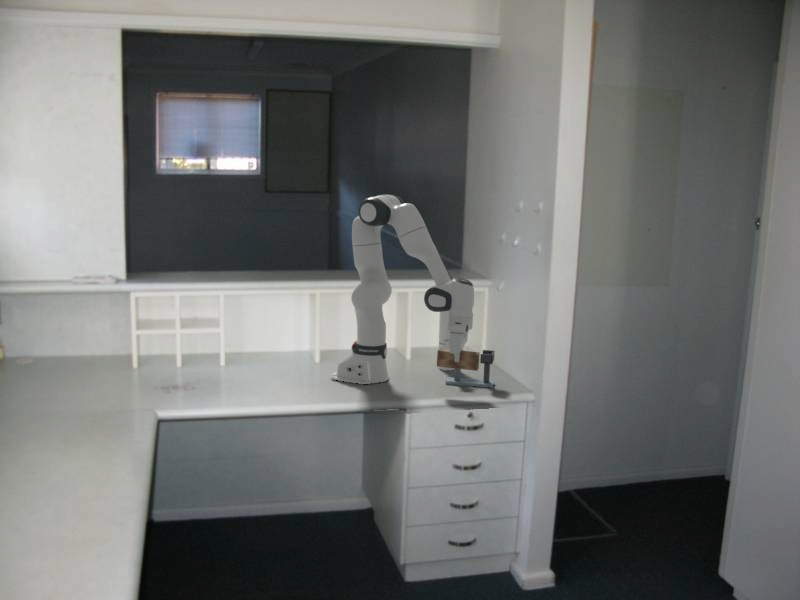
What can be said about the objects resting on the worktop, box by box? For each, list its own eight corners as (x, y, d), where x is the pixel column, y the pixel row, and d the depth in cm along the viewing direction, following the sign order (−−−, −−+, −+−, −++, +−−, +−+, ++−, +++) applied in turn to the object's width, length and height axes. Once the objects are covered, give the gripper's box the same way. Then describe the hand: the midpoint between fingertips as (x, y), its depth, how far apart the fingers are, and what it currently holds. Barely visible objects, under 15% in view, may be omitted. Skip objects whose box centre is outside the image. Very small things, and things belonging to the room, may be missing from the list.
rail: (436, 366, 293) (437, 350, 292) (438, 364, 297) (439, 348, 296) (477, 370, 290) (478, 354, 289) (478, 368, 294) (479, 352, 293)
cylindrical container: (454, 371, 326) (456, 310, 321) (436, 369, 327) (438, 309, 322) (456, 366, 333) (458, 307, 328) (439, 365, 334) (441, 306, 329)
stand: (445, 384, 307) (446, 351, 304) (448, 379, 313) (449, 347, 311) (492, 388, 303) (493, 355, 300) (494, 383, 309) (495, 350, 307)
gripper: (456, 316, 301) (453, 352, 304) (447, 328, 281) (444, 366, 284) (472, 318, 300) (470, 353, 302) (465, 329, 280) (462, 367, 283)
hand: (458, 359), depth 293 cm, fingers closed on rail, 4 cm apart
